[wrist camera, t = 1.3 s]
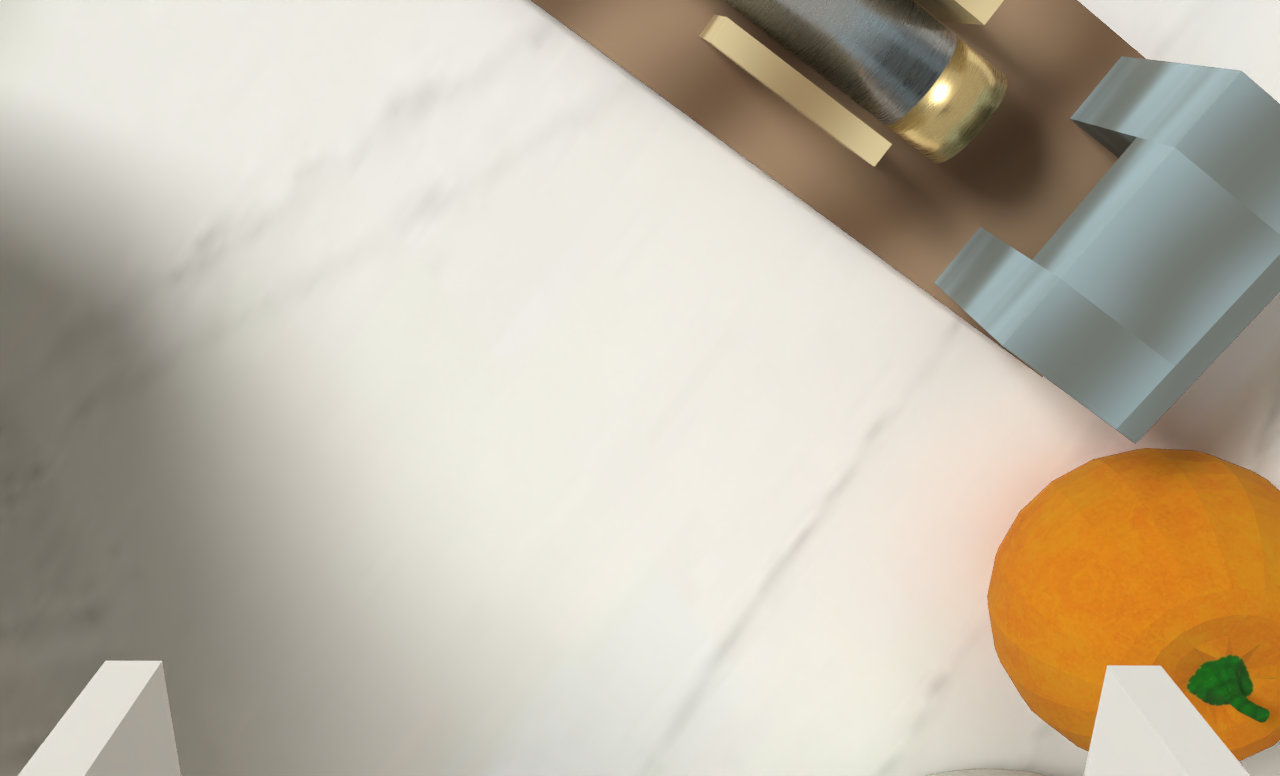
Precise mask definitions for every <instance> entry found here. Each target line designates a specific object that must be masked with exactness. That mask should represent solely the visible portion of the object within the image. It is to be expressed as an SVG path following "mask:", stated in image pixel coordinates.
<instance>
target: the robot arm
mask: <svg viewBox="0 0 1280 776" xmlns="http://www.w3.org/2000/svg"><path fill="white" fill-rule="evenodd" d="M18 776H181V772H180V765H179V759H178V753H177V747H176V741H175V735H174V729H173V723H172V717H171V711H170V705H169V699H168V693H167V687H166V681H165V675H164V669H163V663H162V661H105V662H104V663H103V665H102V666H101V667H100V668H99V670H98V671H97V672H96V674H95V675H94V676H93V678H92V679H91V680H90V682H89V683H88V684H87V685H86V687H85V688H84V689H83V691H82V692H81V693H80V695H79V696H78V697H77V699H76V700H75V701H74V703H73V704H72V705H71V706H70V708H69V709H68V710H67V712H66V713H65V714H64V716H63V717H62V718H61V720H60V721H59V722H58V723H57V725H56V726H55V727H54V729H53V730H52V731H51V733H50V734H49V735H48V737H47V738H46V739H45V741H44V742H43V743H42V744H41V746H40V747H39V748H38V750H37V751H36V752H35V754H34V755H33V756H32V758H31V759H30V760H29V761H28V763H27V764H26V765H25V767H24V768H23V769H22V771H21V772H20V773H19V775H18ZM1084 776H1250V775H1249V774H1248V772H1247V771H1246V770H1245V769H1244V767H1243V766H1242V765H1241V764H1240V763H1239V761H1238V760H1237V759H1236V758H1235V756H1234V755H1233V754H1232V753H1231V751H1230V750H1229V749H1228V748H1227V747H1226V745H1225V744H1224V743H1223V742H1222V740H1221V739H1220V738H1219V737H1218V735H1217V734H1216V733H1215V732H1214V731H1213V729H1212V728H1211V727H1210V726H1209V724H1208V723H1207V722H1206V721H1205V719H1204V718H1203V717H1202V716H1201V715H1200V713H1199V712H1198V711H1197V710H1196V708H1195V707H1194V706H1193V705H1192V703H1191V702H1190V701H1189V700H1188V699H1187V697H1186V696H1185V695H1184V694H1183V692H1182V691H1181V690H1180V689H1179V687H1178V686H1177V685H1176V684H1175V683H1174V681H1173V680H1172V679H1171V678H1170V676H1169V675H1168V674H1167V673H1166V671H1165V670H1164V669H1163V668H1162V667H1161V666H1128V665H1107V668H1106V673H1105V678H1104V682H1103V687H1102V692H1101V697H1100V701H1099V706H1098V711H1097V715H1096V720H1095V725H1094V729H1093V734H1092V739H1091V743H1090V748H1089V753H1088V757H1087V762H1086V767H1085V772H1084Z"/></svg>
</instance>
